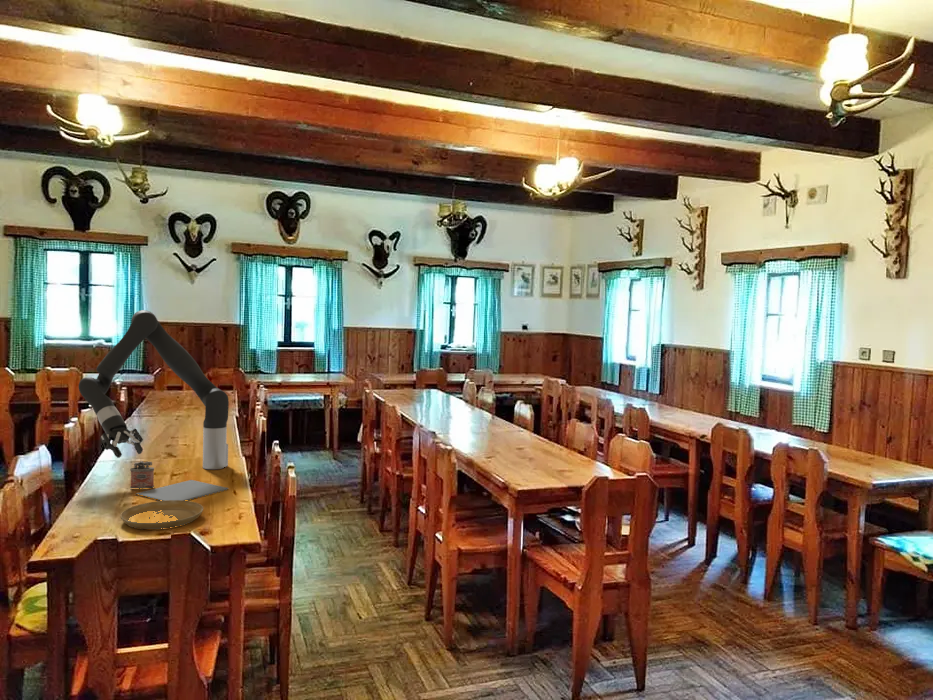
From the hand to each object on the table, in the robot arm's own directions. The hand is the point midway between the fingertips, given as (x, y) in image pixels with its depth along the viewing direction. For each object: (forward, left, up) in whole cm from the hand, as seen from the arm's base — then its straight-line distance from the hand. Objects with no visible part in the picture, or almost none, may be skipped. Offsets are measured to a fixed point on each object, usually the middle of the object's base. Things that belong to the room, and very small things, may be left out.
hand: (130, 454), depth 257 cm
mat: (-5, +23, -12) cm, 26 cm away
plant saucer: (+20, +44, -12) cm, 50 cm away
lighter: (0, +7, -12) cm, 14 cm away
